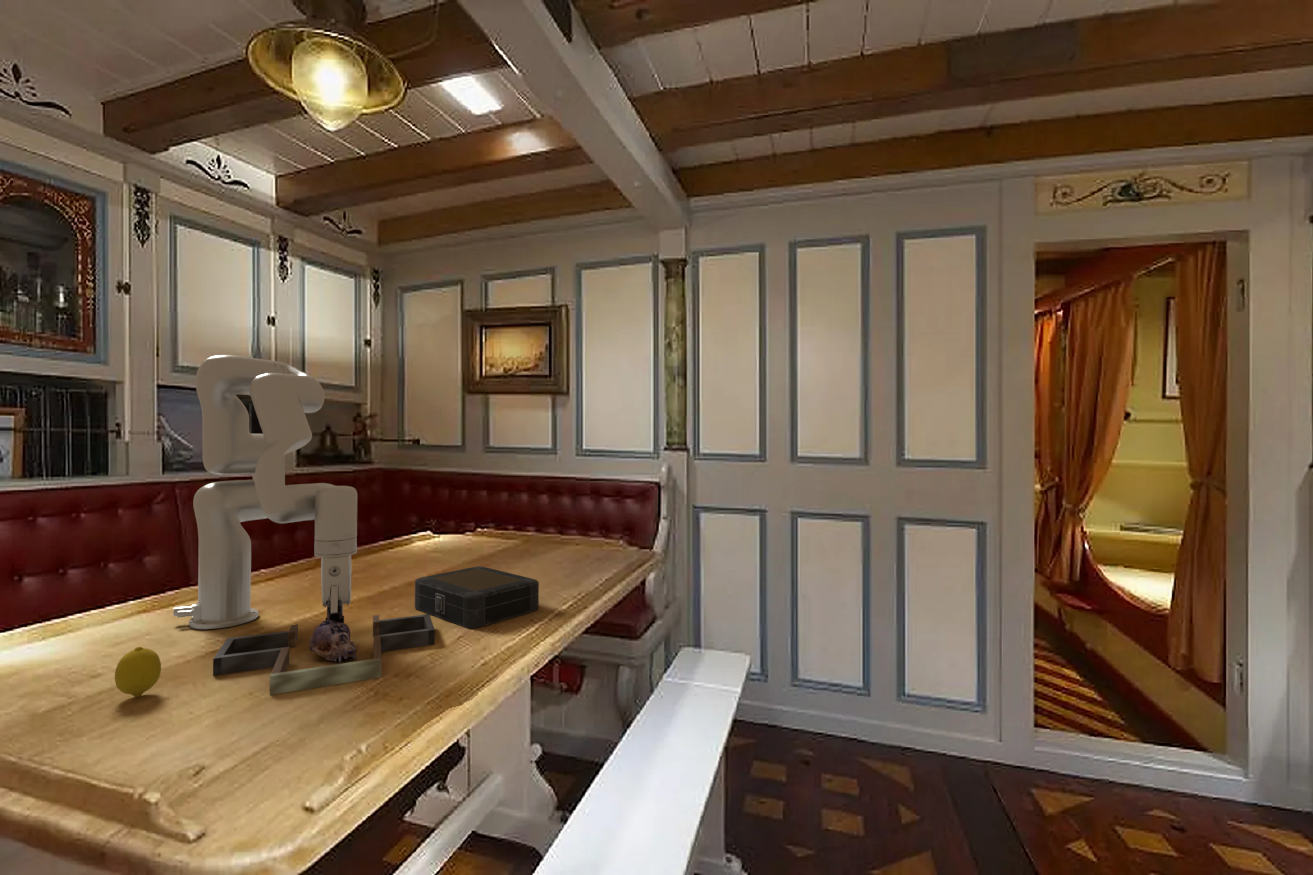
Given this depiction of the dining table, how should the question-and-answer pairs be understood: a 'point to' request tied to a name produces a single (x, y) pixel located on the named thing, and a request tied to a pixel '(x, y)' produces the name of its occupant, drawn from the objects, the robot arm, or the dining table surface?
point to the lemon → (137, 671)
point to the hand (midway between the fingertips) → (334, 636)
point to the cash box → (476, 596)
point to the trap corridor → (275, 653)
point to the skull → (332, 641)
